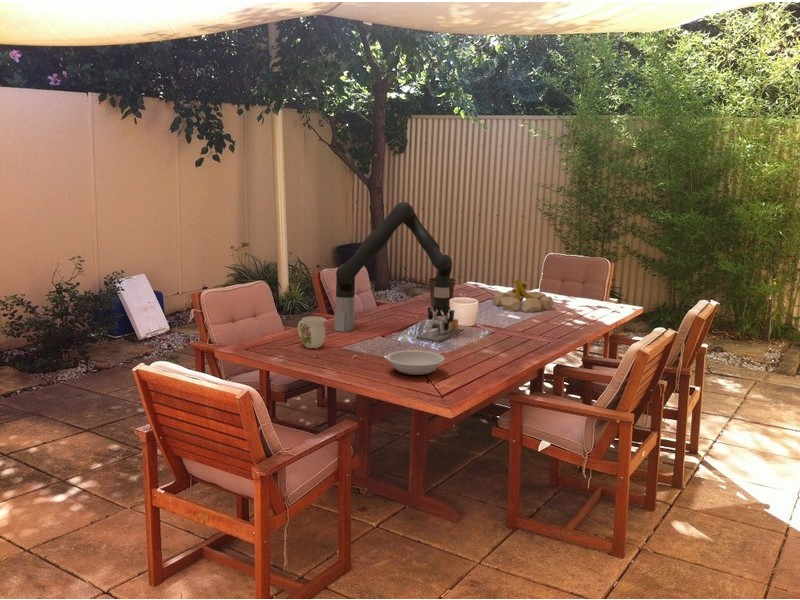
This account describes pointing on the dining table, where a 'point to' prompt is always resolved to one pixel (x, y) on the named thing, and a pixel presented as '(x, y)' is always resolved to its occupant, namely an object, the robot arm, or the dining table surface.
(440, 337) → the coupler stand
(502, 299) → the campfire
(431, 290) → the plant pot
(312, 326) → the pitcher
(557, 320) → the dining table surface
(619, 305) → the dining table surface
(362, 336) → the dining table surface
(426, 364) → the soup bowl
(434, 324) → the lock block
